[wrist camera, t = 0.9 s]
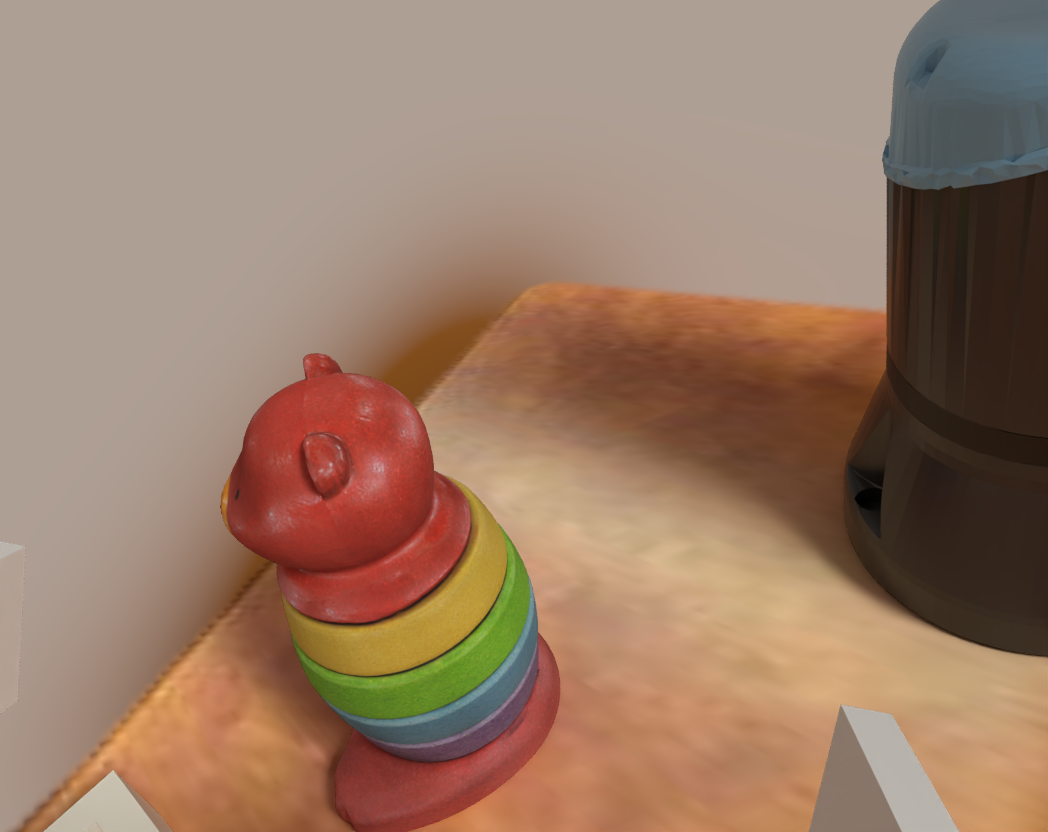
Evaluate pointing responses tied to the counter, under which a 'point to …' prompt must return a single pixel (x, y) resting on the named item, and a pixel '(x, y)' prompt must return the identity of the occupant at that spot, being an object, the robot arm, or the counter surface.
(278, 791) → the counter surface
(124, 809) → the collar
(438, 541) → the stacking bear
